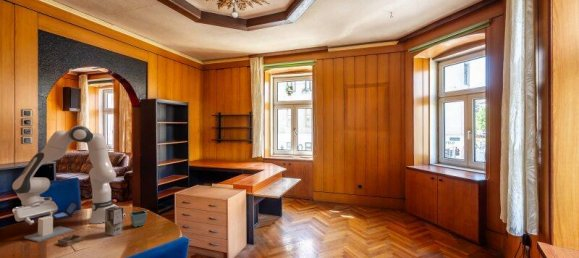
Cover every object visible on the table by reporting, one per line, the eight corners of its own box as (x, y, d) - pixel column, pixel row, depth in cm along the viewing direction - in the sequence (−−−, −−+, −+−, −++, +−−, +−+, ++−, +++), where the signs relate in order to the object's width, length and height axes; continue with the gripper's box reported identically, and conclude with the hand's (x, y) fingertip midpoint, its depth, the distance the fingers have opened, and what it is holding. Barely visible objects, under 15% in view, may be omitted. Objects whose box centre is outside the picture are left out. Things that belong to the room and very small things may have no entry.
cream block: (47, 231, 163) (48, 216, 163) (52, 233, 162) (52, 217, 162) (37, 234, 159) (38, 218, 159) (42, 236, 157) (43, 219, 157)
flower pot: (129, 225, 179) (129, 212, 179) (143, 222, 185) (144, 210, 185) (132, 229, 173) (132, 215, 173) (146, 226, 179) (147, 213, 179)
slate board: (59, 227, 173) (59, 226, 173) (73, 230, 168) (73, 229, 168) (24, 238, 156) (24, 236, 156) (38, 242, 151) (38, 240, 151)
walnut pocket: (73, 238, 157) (73, 234, 157) (82, 240, 154) (82, 236, 154) (57, 243, 149) (57, 239, 149) (66, 246, 146) (66, 242, 146)
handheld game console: (50, 216, 194) (50, 204, 194) (72, 211, 205) (72, 200, 205) (55, 221, 185) (56, 208, 185) (79, 216, 196) (79, 204, 196)
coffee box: (123, 232, 167) (123, 207, 167) (113, 236, 161) (113, 210, 161) (114, 229, 171) (115, 205, 171) (104, 233, 165) (104, 208, 165)
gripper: (13, 205, 154) (22, 223, 151) (54, 196, 173) (63, 213, 170) (8, 211, 156) (17, 230, 152) (49, 202, 175) (58, 219, 171)
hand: (41, 221), depth 161 cm, fingers open, 8 cm apart
